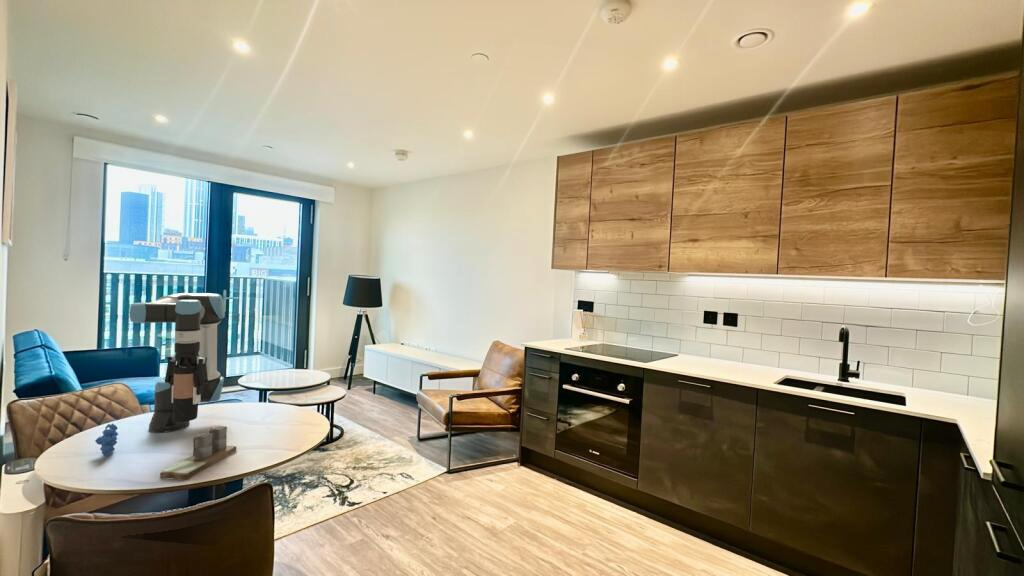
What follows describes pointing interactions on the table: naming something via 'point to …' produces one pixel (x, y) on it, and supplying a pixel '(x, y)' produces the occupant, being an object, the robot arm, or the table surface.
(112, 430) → the grapes
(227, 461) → the table surface
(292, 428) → the table surface
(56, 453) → the table surface
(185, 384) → the travel mug
